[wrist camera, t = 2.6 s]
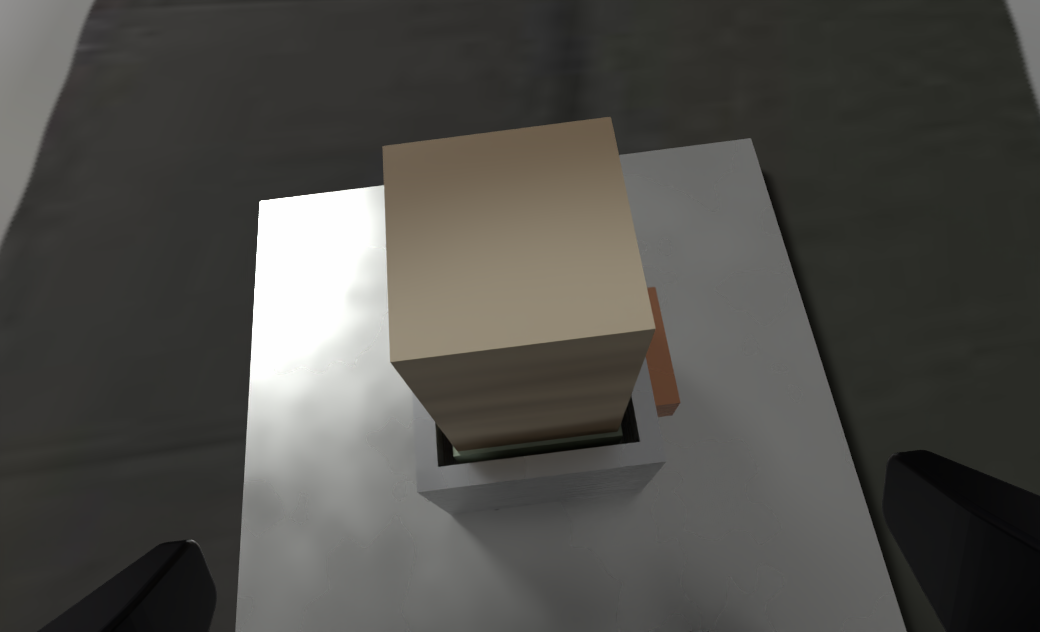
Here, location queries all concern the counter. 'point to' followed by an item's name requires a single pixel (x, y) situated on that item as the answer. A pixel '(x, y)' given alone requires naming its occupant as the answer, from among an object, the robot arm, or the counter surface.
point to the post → (516, 287)
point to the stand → (561, 475)
